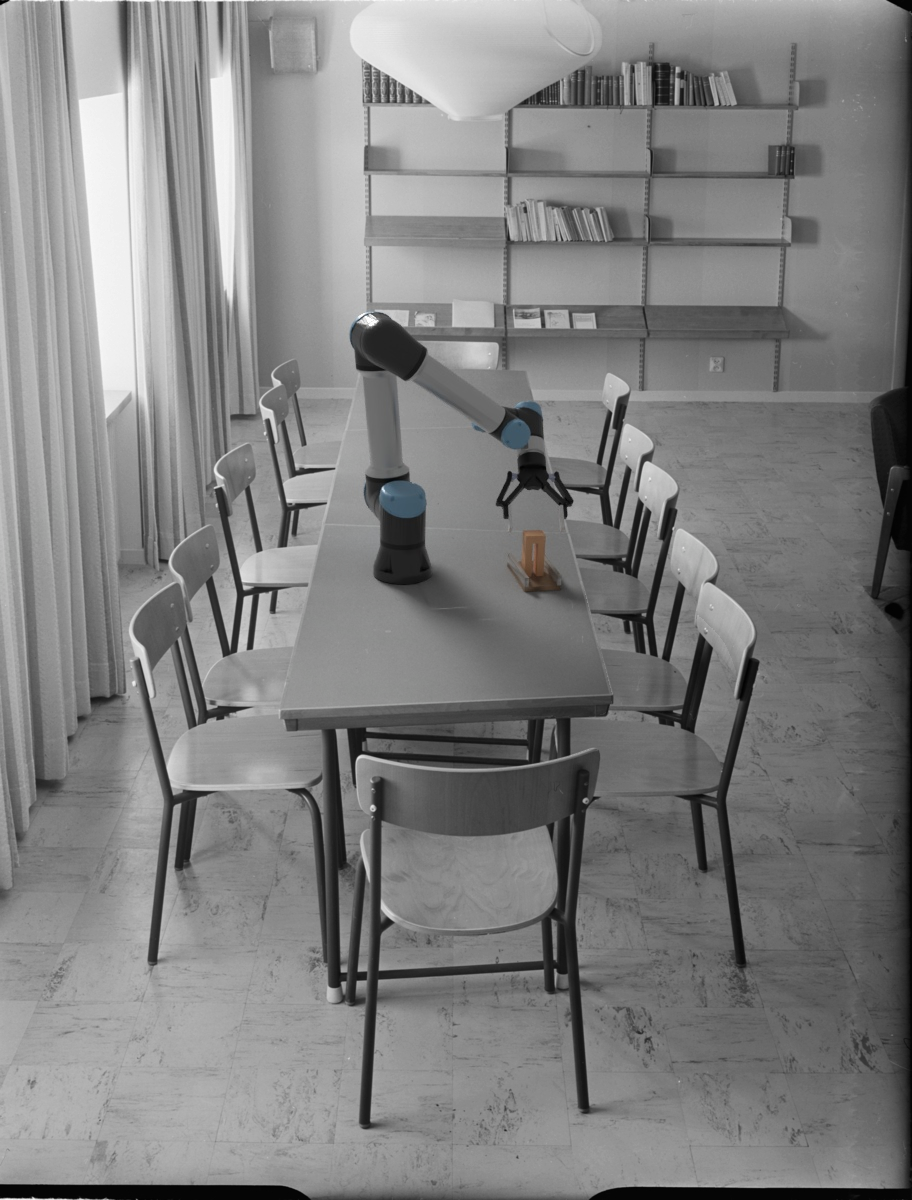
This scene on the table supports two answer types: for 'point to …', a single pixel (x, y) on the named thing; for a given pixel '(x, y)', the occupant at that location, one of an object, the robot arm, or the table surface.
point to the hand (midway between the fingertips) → (536, 530)
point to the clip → (539, 552)
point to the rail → (535, 583)
